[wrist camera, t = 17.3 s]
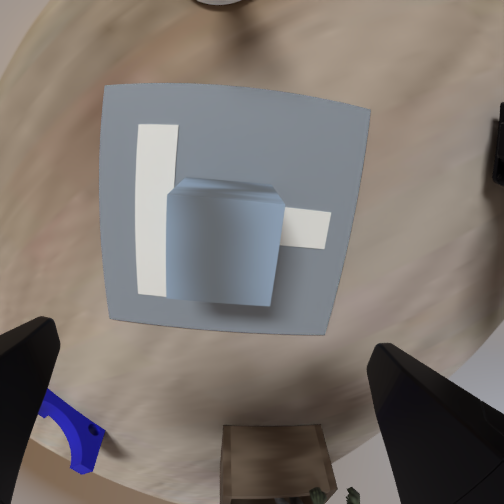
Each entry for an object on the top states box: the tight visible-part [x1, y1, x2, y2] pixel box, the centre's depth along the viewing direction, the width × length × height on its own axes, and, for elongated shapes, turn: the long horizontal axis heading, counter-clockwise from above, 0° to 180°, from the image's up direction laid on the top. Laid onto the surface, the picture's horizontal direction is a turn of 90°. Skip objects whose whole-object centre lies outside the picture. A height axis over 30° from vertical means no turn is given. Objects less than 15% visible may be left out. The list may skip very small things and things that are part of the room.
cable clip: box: [38, 388, 105, 474], centre depth 22 cm, size 12×4×6 cm, turn 40°
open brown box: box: [220, 424, 338, 504], centre depth 25 cm, size 10×10×8 cm
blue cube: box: [166, 177, 285, 306], centre depth 16 cm, size 5×5×5 cm
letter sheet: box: [99, 83, 371, 335], centre depth 18 cm, size 16×16×1 cm
